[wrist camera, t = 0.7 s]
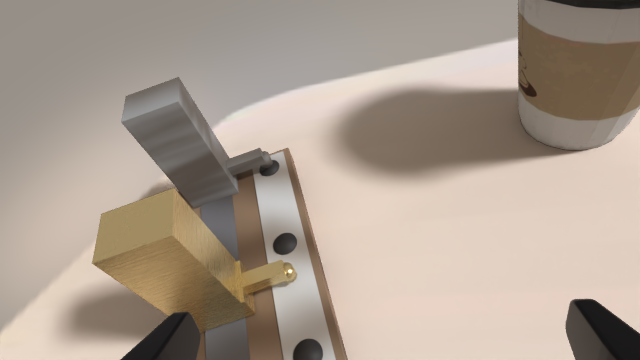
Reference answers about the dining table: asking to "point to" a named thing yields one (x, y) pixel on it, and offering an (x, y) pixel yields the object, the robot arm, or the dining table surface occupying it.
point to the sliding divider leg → (180, 262)
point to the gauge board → (243, 227)
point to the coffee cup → (578, 70)
